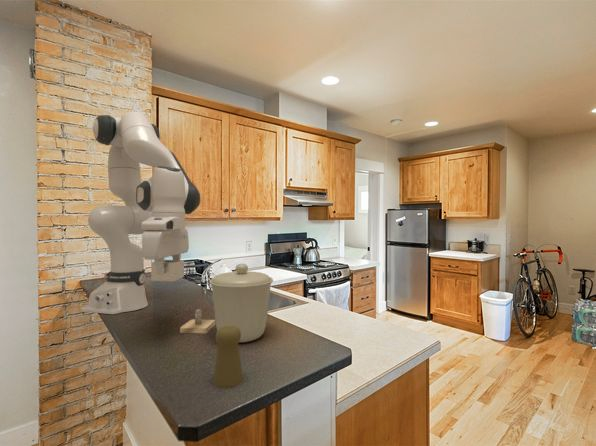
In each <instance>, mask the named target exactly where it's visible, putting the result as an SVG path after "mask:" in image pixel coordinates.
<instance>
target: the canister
mask: <svg viewBox="0 0 596 446" xmlns="http://www.w3.org/2000/svg"><path fill="white" fill-rule="evenodd" d="M208 281H209V282H208V283H209V284H210V285H211V290H212V292H211V293H212V301H213V309H214V310H213V311H214V320H215V326H216V332H217V331H218V329H220V328H221V327H225V326H235V327H237V328H239V330H240V332H241V338H240V341H239V343H238V344H240V343H248V342H253V341H255V340H257V339H259V338H260V337H262V335H263V334H264V332H265V330H266V326H267V318H268V310H269V304H270V294H271V284H273V281H274V279H273V278H272V277H270V275H268V274H267V273H263V272H259V271H249V266H248V265H247V264H246V263H238V264H237V265H236V266H235V271H231V272H223V273H220V274H218V275H215V276H214V277H213V278H210V280H208Z"/></svg>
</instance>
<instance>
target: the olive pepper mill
mask: <svg viewBox="0 0 596 446" xmlns="http://www.w3.org/2000/svg"><path fill="white" fill-rule="evenodd" d="M240 338H241V332H240V330H239V328H237V327H235V326H225V327H221V328H220V329H218V331H217V330H216V333H215V341H216V344H217V351H216V359H215V367H214V373H213V380H212V382H213V385H214V386H216V387H218V388H223V389H225V388H228V389H229V388H232V387H235V386H238V385H239V384H241V383H242V381H243V378H244V377H243V369H242V361H241V355H240V347H239V344H240V343H239V341H240Z"/></svg>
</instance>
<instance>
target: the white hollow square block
mask: <svg viewBox="0 0 596 446" xmlns="http://www.w3.org/2000/svg"><path fill="white" fill-rule="evenodd" d="M150 263H151V264H150V265H151V266H150V267H151V268H150V269H151V270H150V273H151V274H150V275H151V278H150V281H151V282H152V281H153V282H154V281H155V282H176V281H178V280H180V279H183V278H185V260H184V259H180V260H173V259H164V262H163V263H164V267H166V273H165V274H162V275H158V274H157V268H156V265H155V263H154V261H151V262H150Z"/></svg>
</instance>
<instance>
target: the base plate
mask: <svg viewBox="0 0 596 446" xmlns="http://www.w3.org/2000/svg"><path fill="white" fill-rule="evenodd" d="M202 313H203V312H202V310H201V308H198V309H196V310H195V312H194V318H193V319H189V320H188V321H187V322H186V323H185V324H182V325H181V326H180V328H179V333H180V334H181V333H182V334H208V333H209V332H210V331H211V329H213V328H214V327H215V326H216V319H203V314H202Z"/></svg>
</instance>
